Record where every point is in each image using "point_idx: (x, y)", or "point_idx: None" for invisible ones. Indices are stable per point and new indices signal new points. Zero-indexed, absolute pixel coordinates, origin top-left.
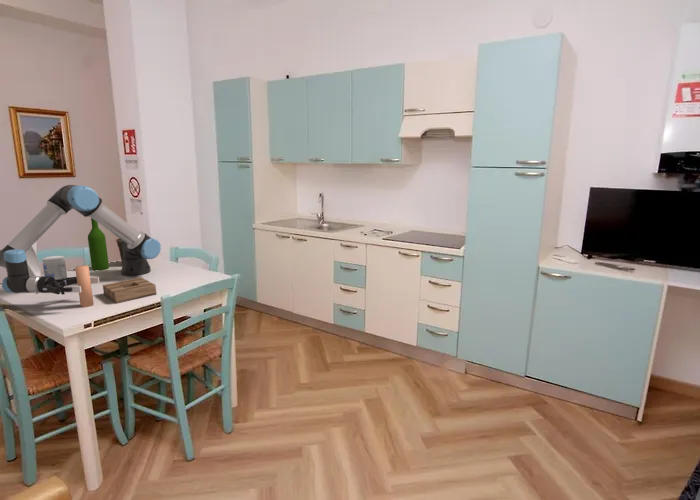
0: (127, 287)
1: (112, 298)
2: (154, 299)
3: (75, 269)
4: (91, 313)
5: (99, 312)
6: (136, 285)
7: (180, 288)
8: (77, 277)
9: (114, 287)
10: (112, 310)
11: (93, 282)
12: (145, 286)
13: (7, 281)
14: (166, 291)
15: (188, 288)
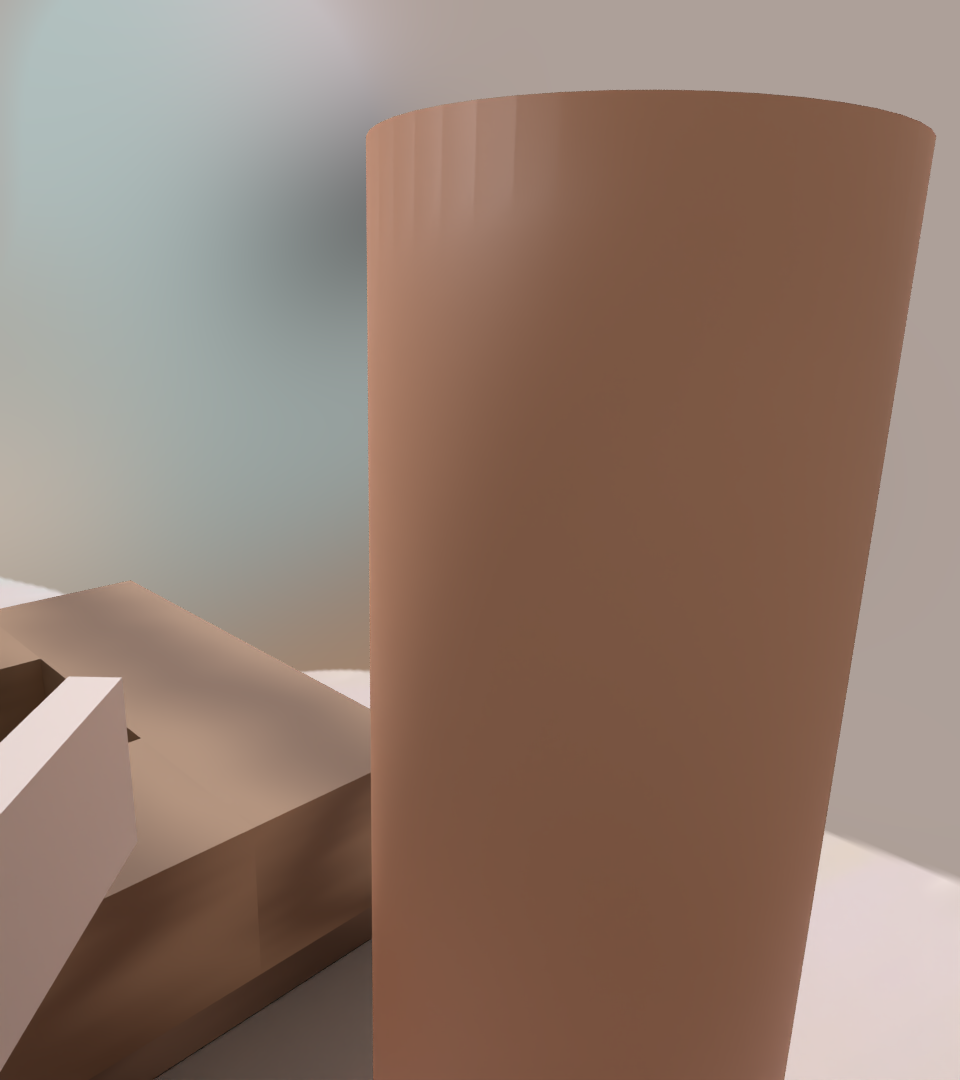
0: (128, 715)
1: (278, 955)
2: (317, 674)
3: (899, 215)
4: (930, 1026)
5: (835, 943)
6: (60, 671)
7: None
8: (854, 620)
9: None
10: None
11: (67, 935)
12: (167, 613)
13: None
14: None
15: (44, 592)
